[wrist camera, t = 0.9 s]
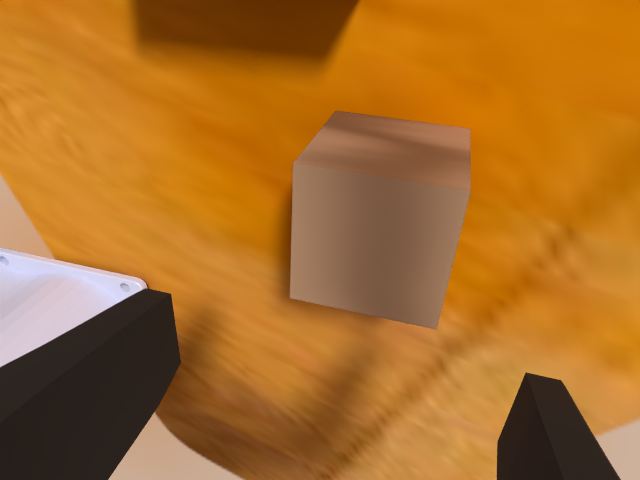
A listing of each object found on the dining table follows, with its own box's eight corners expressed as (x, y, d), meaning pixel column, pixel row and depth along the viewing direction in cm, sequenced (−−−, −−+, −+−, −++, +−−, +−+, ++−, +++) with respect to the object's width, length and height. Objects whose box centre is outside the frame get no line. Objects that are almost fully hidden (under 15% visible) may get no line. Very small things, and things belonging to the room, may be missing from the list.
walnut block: (328, 222, 19) (289, 298, 15) (336, 110, 17) (293, 163, 13) (443, 243, 18) (436, 329, 14) (470, 128, 16) (470, 191, 12)
